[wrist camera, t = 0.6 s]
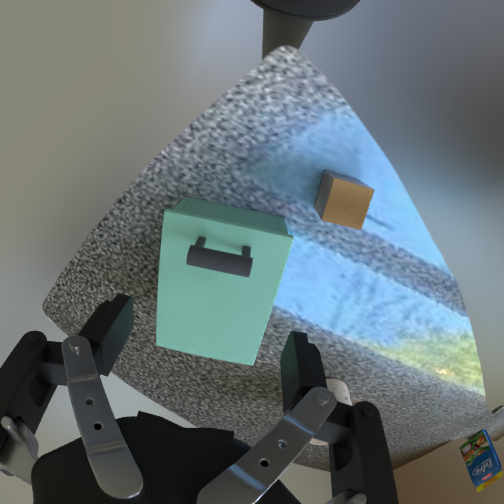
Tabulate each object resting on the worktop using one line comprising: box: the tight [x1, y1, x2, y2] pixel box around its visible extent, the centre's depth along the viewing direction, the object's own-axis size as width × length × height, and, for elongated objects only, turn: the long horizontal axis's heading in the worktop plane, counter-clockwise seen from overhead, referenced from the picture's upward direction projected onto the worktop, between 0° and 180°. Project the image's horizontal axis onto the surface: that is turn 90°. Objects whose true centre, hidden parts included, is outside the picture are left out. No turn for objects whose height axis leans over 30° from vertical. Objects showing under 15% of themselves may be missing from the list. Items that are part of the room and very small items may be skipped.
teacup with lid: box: [309, 379, 362, 448], centre depth 41 cm, size 12×9×12 cm
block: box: [314, 170, 374, 230], centre depth 29 cm, size 4×4×4 cm
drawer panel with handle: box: [156, 209, 294, 365], centre depth 27 cm, size 16×12×5 cm
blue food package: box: [460, 430, 503, 492], centre depth 55 cm, size 6×12×25 cm, turn 148°
